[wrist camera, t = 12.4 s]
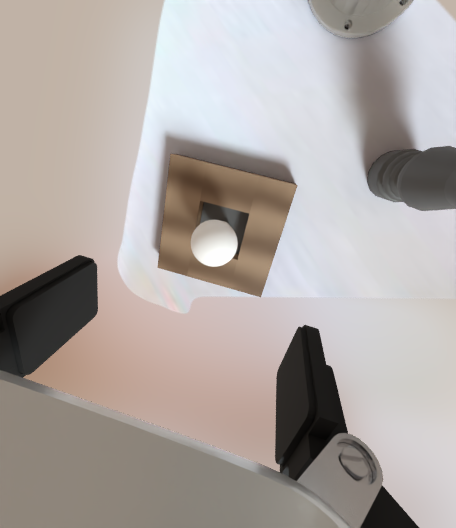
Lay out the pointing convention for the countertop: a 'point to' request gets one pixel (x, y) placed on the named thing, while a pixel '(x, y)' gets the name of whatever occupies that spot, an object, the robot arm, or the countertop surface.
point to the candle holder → (416, 178)
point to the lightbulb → (214, 243)
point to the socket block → (224, 209)
